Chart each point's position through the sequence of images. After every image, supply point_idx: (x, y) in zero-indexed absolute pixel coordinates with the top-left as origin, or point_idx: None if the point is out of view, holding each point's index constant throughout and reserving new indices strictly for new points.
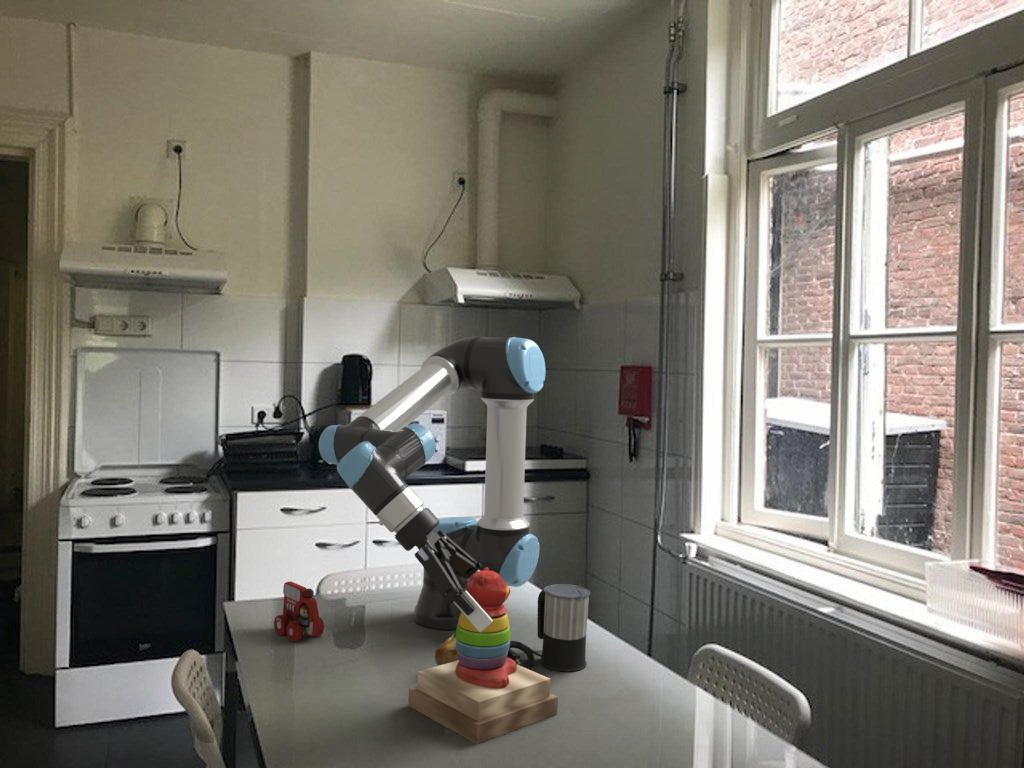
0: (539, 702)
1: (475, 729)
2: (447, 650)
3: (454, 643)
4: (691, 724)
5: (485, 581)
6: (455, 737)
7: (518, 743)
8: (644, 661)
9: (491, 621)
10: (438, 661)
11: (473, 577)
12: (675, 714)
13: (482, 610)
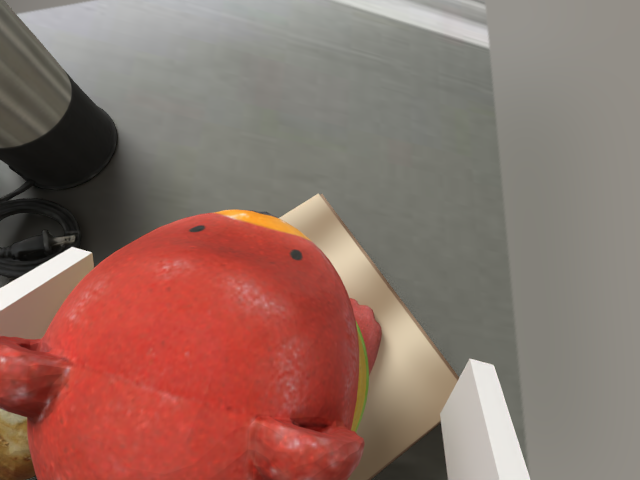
0: (350, 236)
1: None
2: None
3: (14, 427)
4: (370, 15)
5: (326, 412)
6: (425, 438)
7: (448, 304)
8: (96, 6)
9: (494, 369)
10: None
11: None
12: (332, 25)
13: (509, 432)
